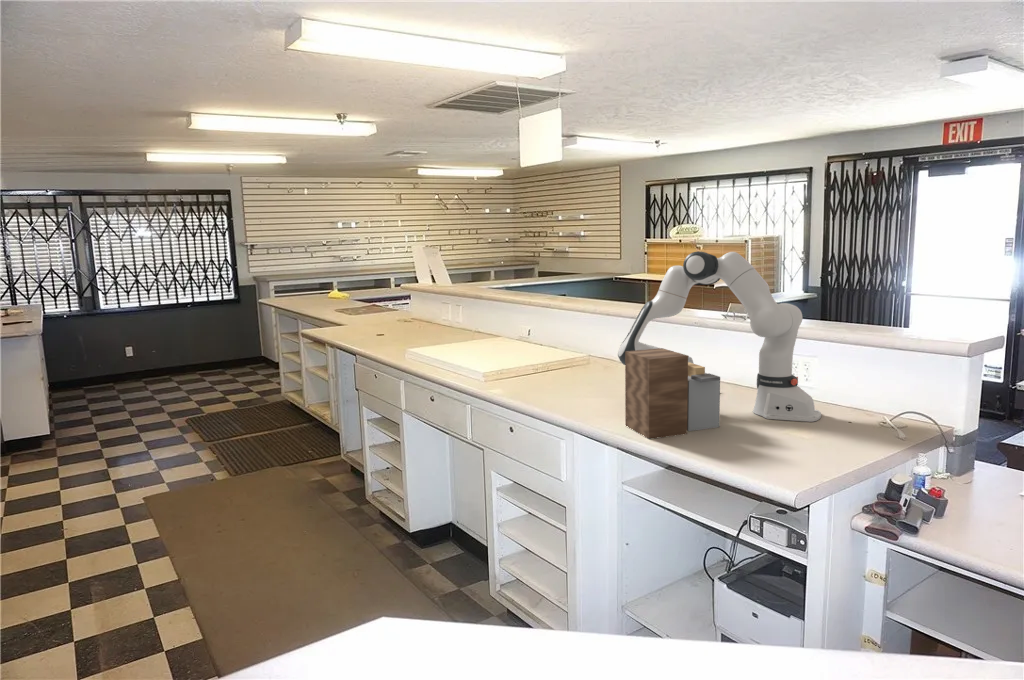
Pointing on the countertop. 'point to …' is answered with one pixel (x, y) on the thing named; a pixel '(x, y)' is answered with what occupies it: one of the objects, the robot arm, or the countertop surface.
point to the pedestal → (656, 392)
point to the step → (703, 404)
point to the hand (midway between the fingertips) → (676, 358)
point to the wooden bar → (700, 373)
